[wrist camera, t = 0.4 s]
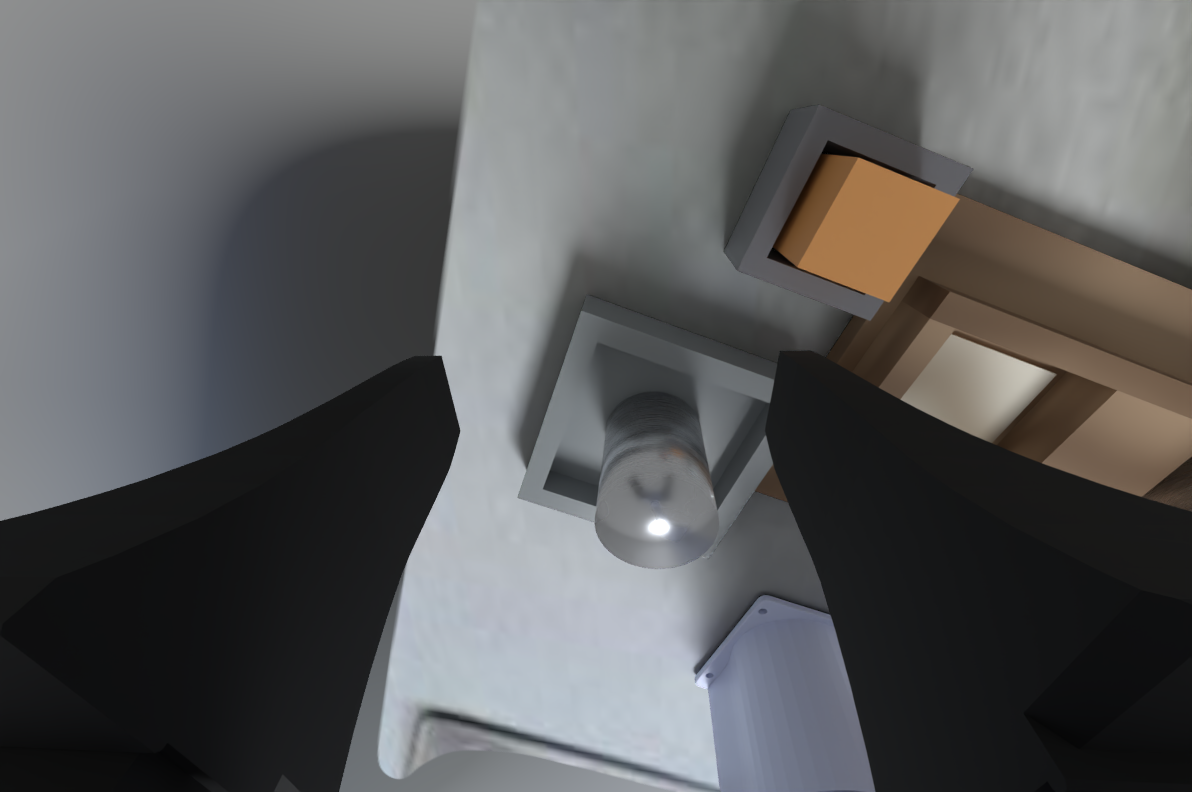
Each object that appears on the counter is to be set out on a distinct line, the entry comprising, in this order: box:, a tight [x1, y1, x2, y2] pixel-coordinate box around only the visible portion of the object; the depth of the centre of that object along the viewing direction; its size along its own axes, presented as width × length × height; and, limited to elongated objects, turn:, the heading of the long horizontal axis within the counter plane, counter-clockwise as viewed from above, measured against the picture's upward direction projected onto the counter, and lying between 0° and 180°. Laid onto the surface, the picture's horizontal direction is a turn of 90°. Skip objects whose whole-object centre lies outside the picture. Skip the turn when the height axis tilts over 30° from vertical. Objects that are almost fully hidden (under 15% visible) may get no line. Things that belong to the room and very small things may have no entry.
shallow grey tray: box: [517, 295, 778, 559], centre depth 22 cm, size 10×10×2 cm
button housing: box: [724, 105, 973, 321], centre depth 16 cm, size 5×5×3 cm
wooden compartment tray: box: [755, 194, 1192, 502], centre depth 20 cm, size 14×21×3 cm, turn 71°
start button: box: [773, 154, 960, 302], centre depth 14 cm, size 3×3×3 cm
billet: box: [595, 392, 719, 569], centre depth 19 cm, size 4×4×6 cm
